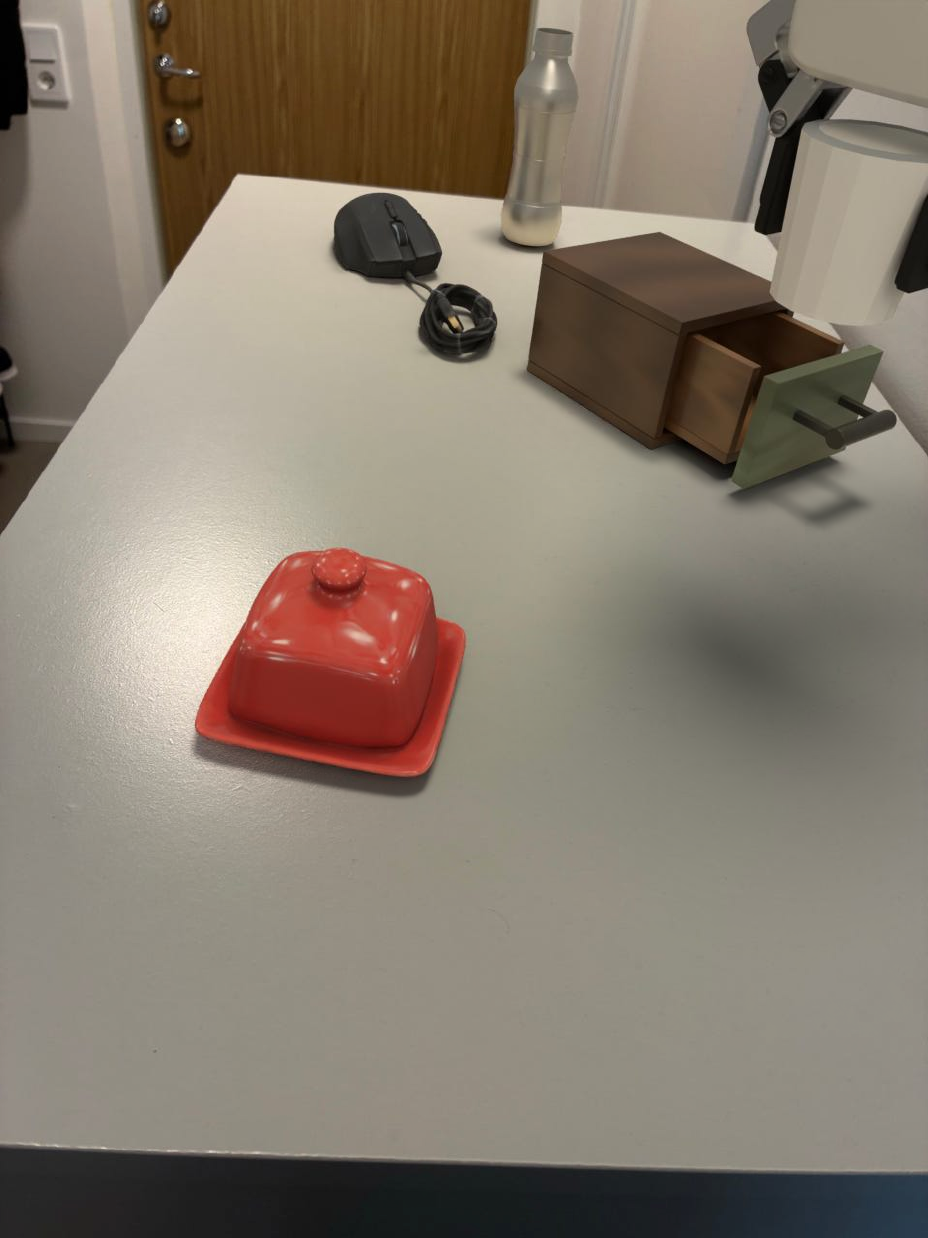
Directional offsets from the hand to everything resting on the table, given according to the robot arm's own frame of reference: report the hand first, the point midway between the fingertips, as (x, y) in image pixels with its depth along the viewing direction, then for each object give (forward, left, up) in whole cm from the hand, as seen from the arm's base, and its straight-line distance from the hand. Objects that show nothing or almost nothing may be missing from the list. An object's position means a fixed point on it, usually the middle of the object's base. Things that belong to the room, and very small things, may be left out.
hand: (846, 253), depth 43 cm
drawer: (-8, -19, -20) cm, 29 cm away
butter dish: (+23, +6, -21) cm, 32 cm away
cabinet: (-2, -29, -21) cm, 36 cm away
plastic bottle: (+2, -64, -21) cm, 67 cm away
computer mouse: (+16, -49, -21) cm, 55 cm away
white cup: (0, 0, -2) cm, 2 cm away
